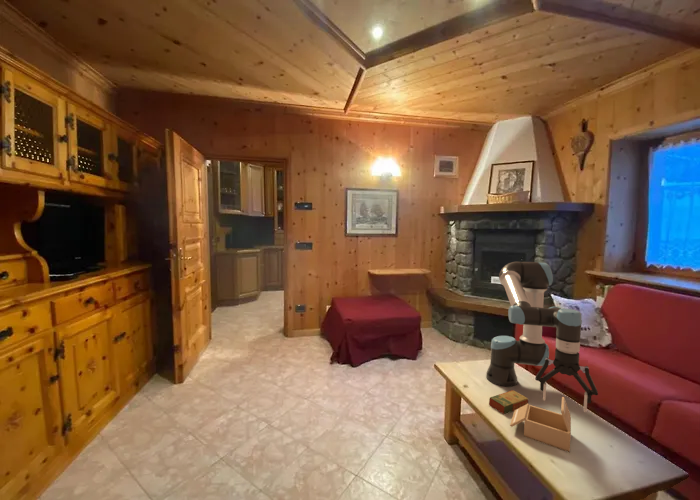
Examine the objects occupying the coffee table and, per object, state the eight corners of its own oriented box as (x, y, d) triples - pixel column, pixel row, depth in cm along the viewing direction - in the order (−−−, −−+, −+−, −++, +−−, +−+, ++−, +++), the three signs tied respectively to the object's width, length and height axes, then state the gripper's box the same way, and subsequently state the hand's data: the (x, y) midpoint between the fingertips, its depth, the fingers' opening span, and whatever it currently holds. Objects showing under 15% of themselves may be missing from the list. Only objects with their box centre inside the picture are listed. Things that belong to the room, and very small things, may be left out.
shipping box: (514, 415, 136) (515, 399, 135) (569, 433, 125) (570, 415, 124) (509, 431, 125) (510, 413, 125) (569, 452, 114) (570, 432, 113)
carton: (528, 406, 144) (528, 398, 143) (504, 415, 137) (504, 406, 137) (512, 397, 151) (512, 389, 151) (488, 405, 144) (489, 396, 144)
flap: (568, 414, 124) (561, 397, 125) (570, 414, 124) (564, 397, 125) (567, 431, 114) (561, 412, 115) (570, 431, 114) (563, 412, 114)
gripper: (529, 345, 122) (526, 398, 124) (609, 361, 108) (605, 420, 109) (531, 340, 128) (528, 390, 130) (607, 354, 114) (603, 410, 116)
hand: (563, 404), depth 120 cm, fingers open, 12 cm apart
